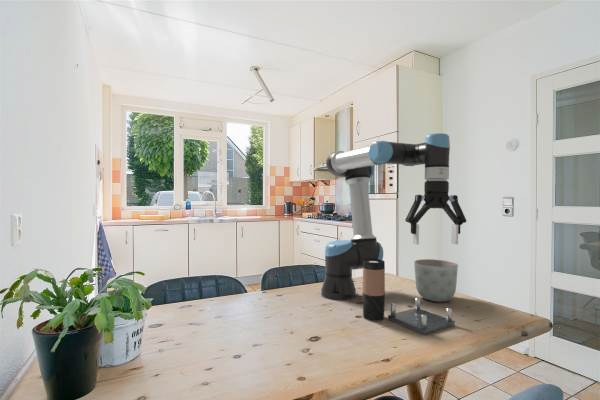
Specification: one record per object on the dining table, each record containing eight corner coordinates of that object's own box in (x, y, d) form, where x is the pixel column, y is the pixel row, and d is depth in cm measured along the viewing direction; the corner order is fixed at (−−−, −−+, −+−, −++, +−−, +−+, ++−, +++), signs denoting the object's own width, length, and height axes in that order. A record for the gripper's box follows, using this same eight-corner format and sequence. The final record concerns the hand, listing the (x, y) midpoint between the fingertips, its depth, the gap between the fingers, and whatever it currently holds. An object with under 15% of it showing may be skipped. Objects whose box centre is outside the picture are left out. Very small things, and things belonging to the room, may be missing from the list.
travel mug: (385, 322, 108) (385, 263, 108) (362, 320, 110) (362, 262, 110) (384, 314, 116) (384, 259, 116) (362, 312, 117) (362, 258, 117)
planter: (460, 297, 137) (460, 261, 137) (455, 308, 123) (455, 268, 123) (418, 291, 146) (419, 257, 146) (409, 300, 132) (409, 263, 132)
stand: (388, 319, 111) (388, 303, 111) (417, 311, 119) (417, 297, 119) (424, 335, 98) (424, 317, 98) (454, 325, 106) (454, 308, 106)
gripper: (405, 179, 102) (404, 245, 103) (478, 180, 104) (477, 245, 105) (396, 180, 110) (395, 242, 110) (465, 181, 112) (463, 242, 112)
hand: (435, 243), depth 107 cm, fingers open, 13 cm apart
